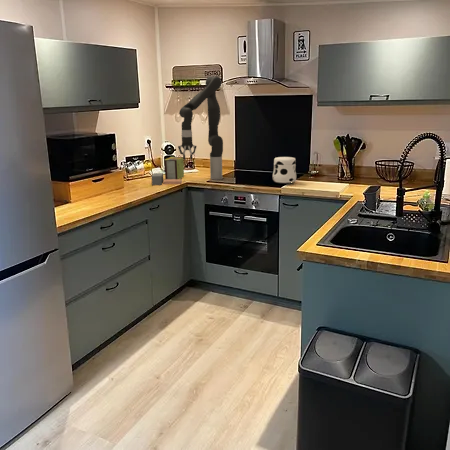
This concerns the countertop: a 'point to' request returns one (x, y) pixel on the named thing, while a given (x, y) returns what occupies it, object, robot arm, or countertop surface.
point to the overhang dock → (157, 179)
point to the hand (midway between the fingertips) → (187, 159)
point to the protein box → (174, 168)
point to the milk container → (284, 170)
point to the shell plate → (172, 181)
